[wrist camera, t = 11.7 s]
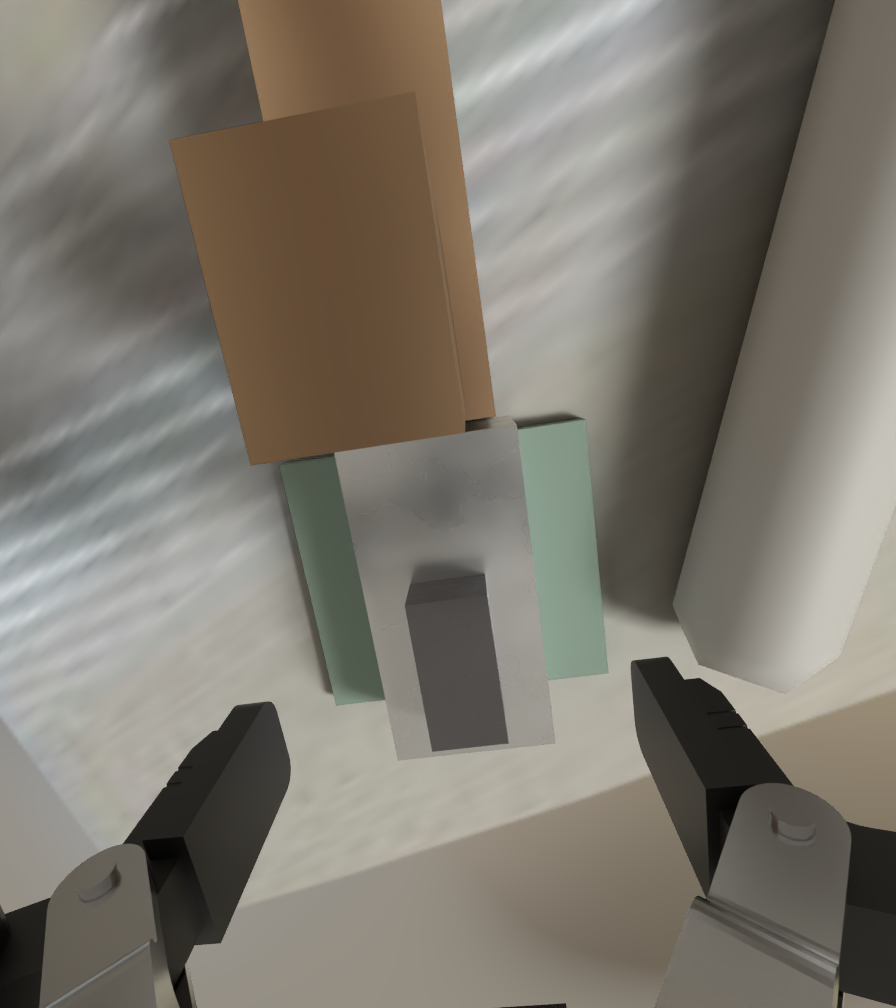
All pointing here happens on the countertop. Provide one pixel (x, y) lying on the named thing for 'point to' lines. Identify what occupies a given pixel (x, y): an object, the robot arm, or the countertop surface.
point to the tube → (809, 389)
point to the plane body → (341, 233)
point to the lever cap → (451, 589)
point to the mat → (555, 547)
